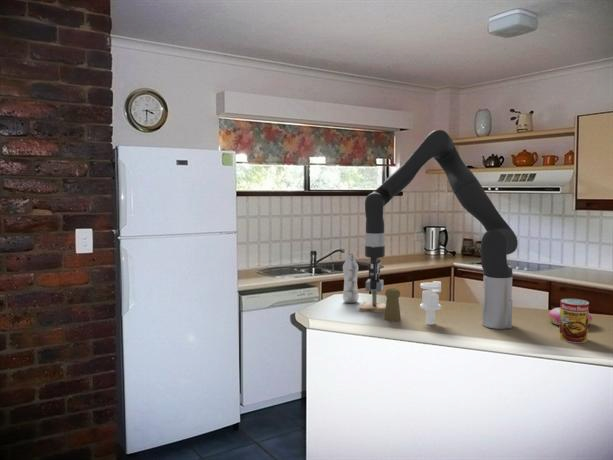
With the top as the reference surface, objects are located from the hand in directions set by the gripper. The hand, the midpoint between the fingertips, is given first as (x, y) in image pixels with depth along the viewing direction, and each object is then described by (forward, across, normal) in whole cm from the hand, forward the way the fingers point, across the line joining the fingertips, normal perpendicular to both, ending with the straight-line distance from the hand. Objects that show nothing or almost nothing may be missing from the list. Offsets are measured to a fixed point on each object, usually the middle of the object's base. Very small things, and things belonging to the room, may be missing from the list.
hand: (374, 287), depth 206 cm
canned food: (+8, +23, +66) cm, 70 cm away
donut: (+9, +4, +68) cm, 69 cm away
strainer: (+9, +16, +22) cm, 29 cm away
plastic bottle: (+9, -8, -11) cm, 16 cm away
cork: (+9, +13, +9) cm, 18 cm away
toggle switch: (+8, 0, 0) cm, 8 cm away
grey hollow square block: (+1, 0, 0) cm, 1 cm away
